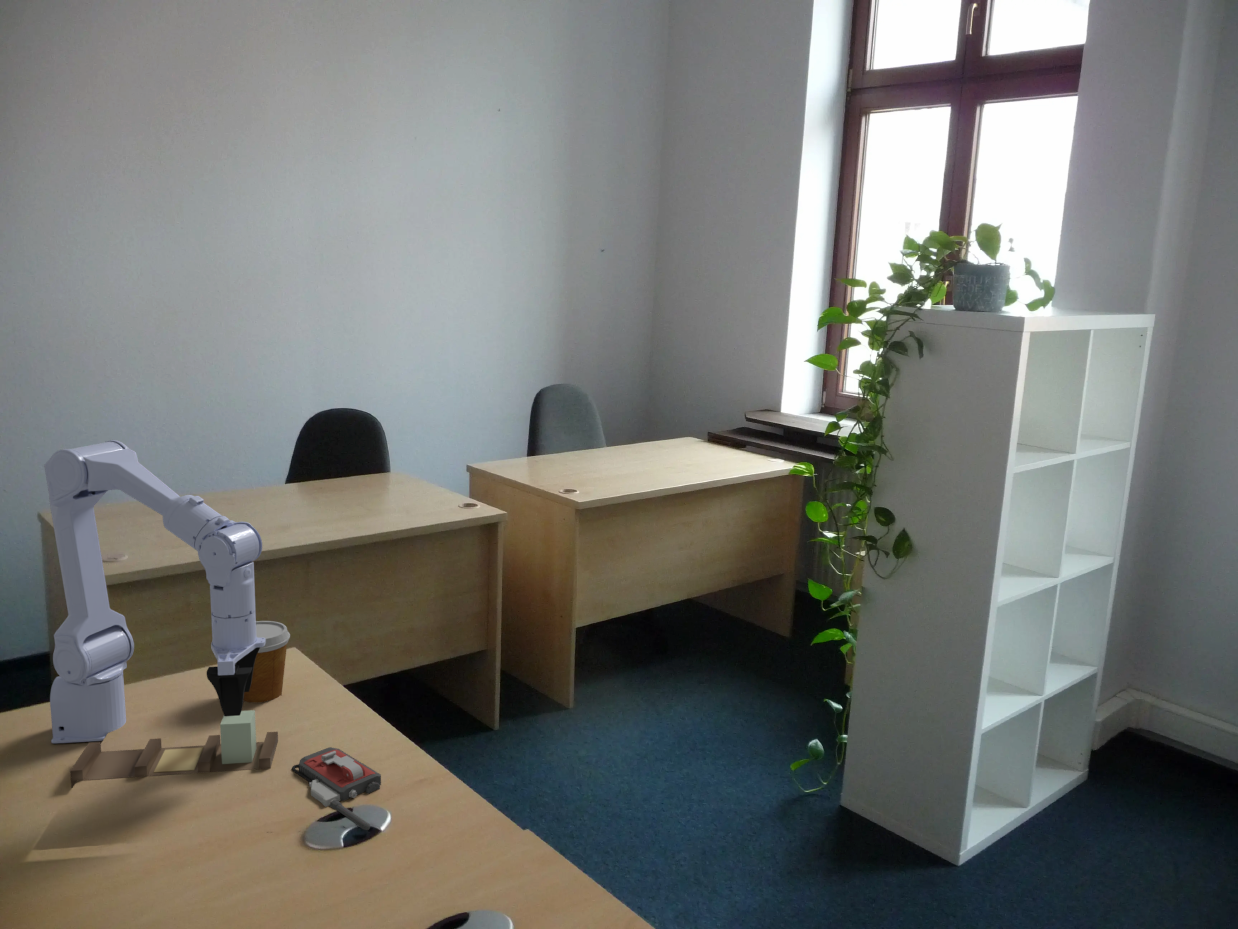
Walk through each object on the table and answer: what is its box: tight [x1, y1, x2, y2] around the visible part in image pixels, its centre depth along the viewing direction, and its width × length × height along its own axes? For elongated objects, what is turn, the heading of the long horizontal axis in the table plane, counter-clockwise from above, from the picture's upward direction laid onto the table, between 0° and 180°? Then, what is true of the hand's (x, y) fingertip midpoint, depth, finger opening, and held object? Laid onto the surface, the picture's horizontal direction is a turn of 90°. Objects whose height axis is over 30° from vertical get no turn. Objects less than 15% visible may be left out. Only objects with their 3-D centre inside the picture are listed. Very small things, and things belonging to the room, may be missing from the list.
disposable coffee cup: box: [243, 620, 291, 704], centre depth 158 cm, size 10×10×12 cm
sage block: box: [219, 709, 257, 764], centre depth 138 cm, size 4×4×6 cm
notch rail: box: [69, 731, 279, 789], centre depth 137 cm, size 26×8×2 cm, turn 102°
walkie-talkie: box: [291, 746, 382, 831], centre depth 131 cm, size 9×4×20 cm
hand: (237, 702), depth 137 cm, fingers open, 7 cm apart
